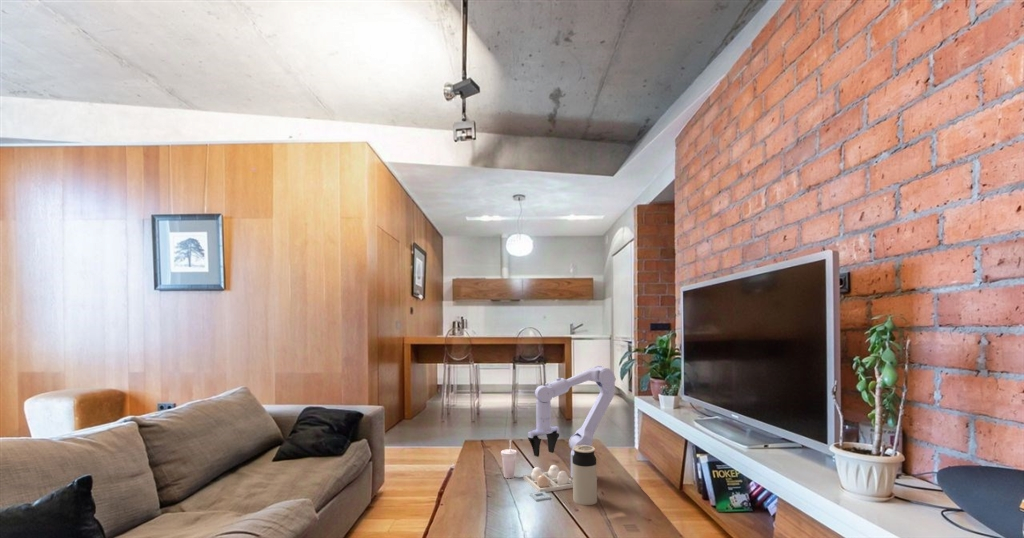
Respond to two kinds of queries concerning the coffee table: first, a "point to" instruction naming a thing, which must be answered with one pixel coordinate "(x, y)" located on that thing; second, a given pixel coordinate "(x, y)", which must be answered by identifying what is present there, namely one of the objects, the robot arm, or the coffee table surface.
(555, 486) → the carton
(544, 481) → the brown egg
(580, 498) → the travel mug
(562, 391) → the robot arm
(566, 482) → the white eggs
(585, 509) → the coffee table surface
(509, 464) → the smoothie
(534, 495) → the egg cup
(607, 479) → the coffee table surface
